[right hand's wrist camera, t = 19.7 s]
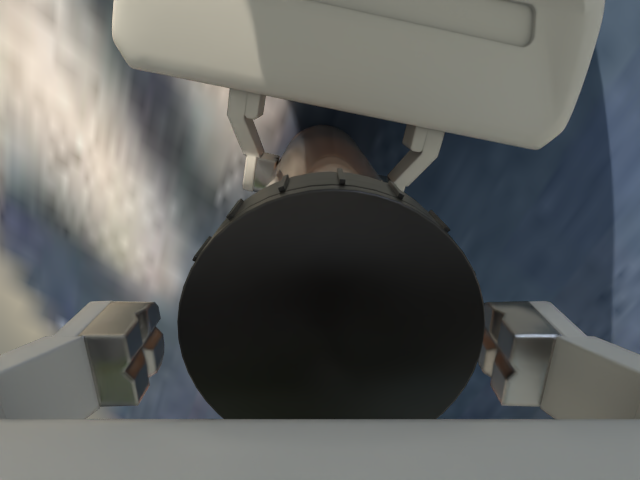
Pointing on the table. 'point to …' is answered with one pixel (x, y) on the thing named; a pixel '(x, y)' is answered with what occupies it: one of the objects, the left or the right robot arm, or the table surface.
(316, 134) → the brown cylinder
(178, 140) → the table surface
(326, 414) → the lid
